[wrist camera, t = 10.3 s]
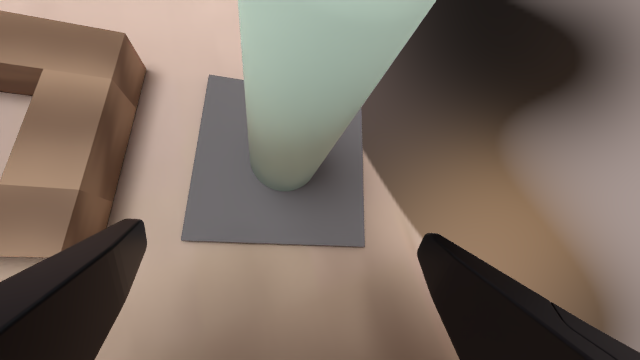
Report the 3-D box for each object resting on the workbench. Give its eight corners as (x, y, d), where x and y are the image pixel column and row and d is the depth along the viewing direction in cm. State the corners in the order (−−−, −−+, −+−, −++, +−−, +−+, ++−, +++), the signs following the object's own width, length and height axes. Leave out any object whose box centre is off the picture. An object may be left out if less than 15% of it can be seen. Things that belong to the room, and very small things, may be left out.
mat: (361, 246, 17) (364, 246, 17) (182, 240, 15) (180, 240, 15) (358, 102, 21) (361, 99, 20) (210, 79, 18) (209, 74, 18)
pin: (295, 204, 17) (399, 65, 4) (235, 167, 16) (175, -83, 4) (327, 151, 18) (470, -59, 6) (273, 117, 18) (308, -173, 6)
